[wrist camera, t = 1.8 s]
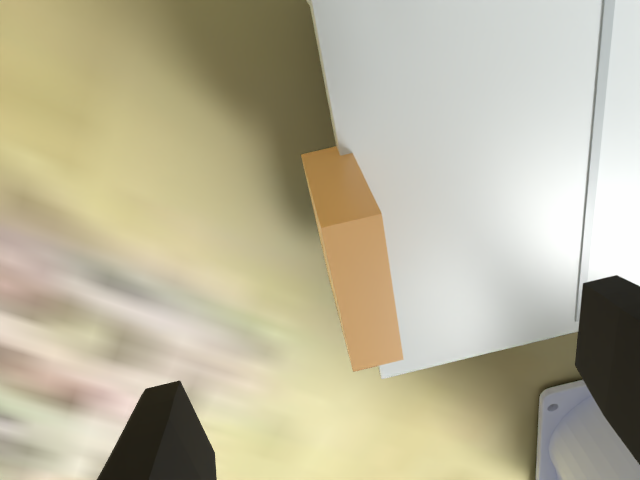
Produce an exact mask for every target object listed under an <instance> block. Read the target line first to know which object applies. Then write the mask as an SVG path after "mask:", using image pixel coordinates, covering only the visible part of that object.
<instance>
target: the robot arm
mask: <svg viewBox="0 0 640 480" xmlns="http://www.w3.org/2000/svg"><path fill="white" fill-rule="evenodd" d="M575 366H576V368H577V370H578V371H579V373H580V375H581V377H582V379H583V380H579V381H575V382H571V383H567V384H563V385H559V386H555V387H551V388H548V389H545V390H544V391H543V392H542V393H541V394H540V397H539V417H538V440H537V462H536V480H640V286H638V285H636V284H634V283H632V282H630V281H628V280H626V279H624V278H622V277H620V276H618V275H615V276H610V277H606V278H602V279H598V280H594V281H590V282H586V283H583V287H582V298H581V308H580V318H579V329H578V339H577V350H576V360H575ZM97 480H217V479H216V464H215V452H214V450H213V448H212V446H211V444H210V442H209V440H208V438H207V436H206V434H205V431H204V429H203V427H202V425H201V423H200V421H199V419H198V417H197V415H196V413H195V411H194V409H193V406H192V404H191V402H190V400H189V398H188V396H187V394H186V392H185V390H184V388H183V386H182V384H181V381H176V382H172V383H168V384H164V385H160V386H155V387H151V388H147V389H145V391H144V392H143V394H142V395H141V397H140V399H139V401H138V403H137V405H136V407H135V409H134V411H133V413H132V414H131V416H130V418H129V420H128V422H127V424H126V426H125V428H124V430H123V432H122V434H121V436H120V438H119V440H118V441H117V443H116V445H115V447H114V449H113V451H112V453H111V455H110V457H109V458H108V460H107V462H106V464H105V466H104V468H103V470H102V471H101V473H100V475H99V477H98V479H97Z"/></svg>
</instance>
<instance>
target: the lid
mask: <svg viewBox="0 0 640 480" xmlns="http://www.w3.org/2000/svg"><path fill="white" fill-rule="evenodd" d="M307 3H308V4H309V5H310V9H311V14H312V19H313V25H314V30H315V35H316V41H317V46H318V51H319V57H320V62H321V67H322V73H323V78H324V83H325V89H326V94H327V99H328V105H329V110H330V115H331V121H332V126H333V131H334V137H335V142H336V146H335V147H331V148H326V149H322V150H318V151H314V152H309V153H305V154H301V157H302V162H303V166H304V170H305V175H306V179H307V184H308V188H309V192H310V197H311V201H312V205H313V210H314V214H315V219H316V223H317V227H318V232H319V236H320V241H321V245H322V249H323V254H324V258H325V263H326V267H327V271H328V276H329V280H330V284H331V288H332V292H333V296H334V299H335V303H336V307H337V311H338V315H339V319H340V323H341V327H342V330H343V334H344V338H345V342H346V346H347V350H348V354H349V357H350V361H351V365H352V369H353V372H355V371H359V370H363V369H367V368H371V367H375V366H378V369H379V372H380V375H381V379H384V378H388V377H392V376H397V375H401V374H405V373H409V372H413V371H417V370H421V369H425V368H430V367H434V366H438V365H442V364H446V363H450V362H454V361H459V360H463V359H467V358H471V357H475V356H479V355H483V354H487V353H492V352H496V351H500V350H504V349H508V348H512V347H516V346H520V345H525V344H529V343H533V342H537V341H541V340H545V339H549V338H554V337H558V336H562V335H566V334H570V333H574V332H578V329H579V318H580V308H581V298H582V287H583V283H586V282H590V281H594V280H598V279H602V278H606V277H610V276H615V275H618V276H620V277H622V278H624V279H626V280H628V281H630V282H632V283H634V284H636V285H638V286H640V0H307Z"/></svg>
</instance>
